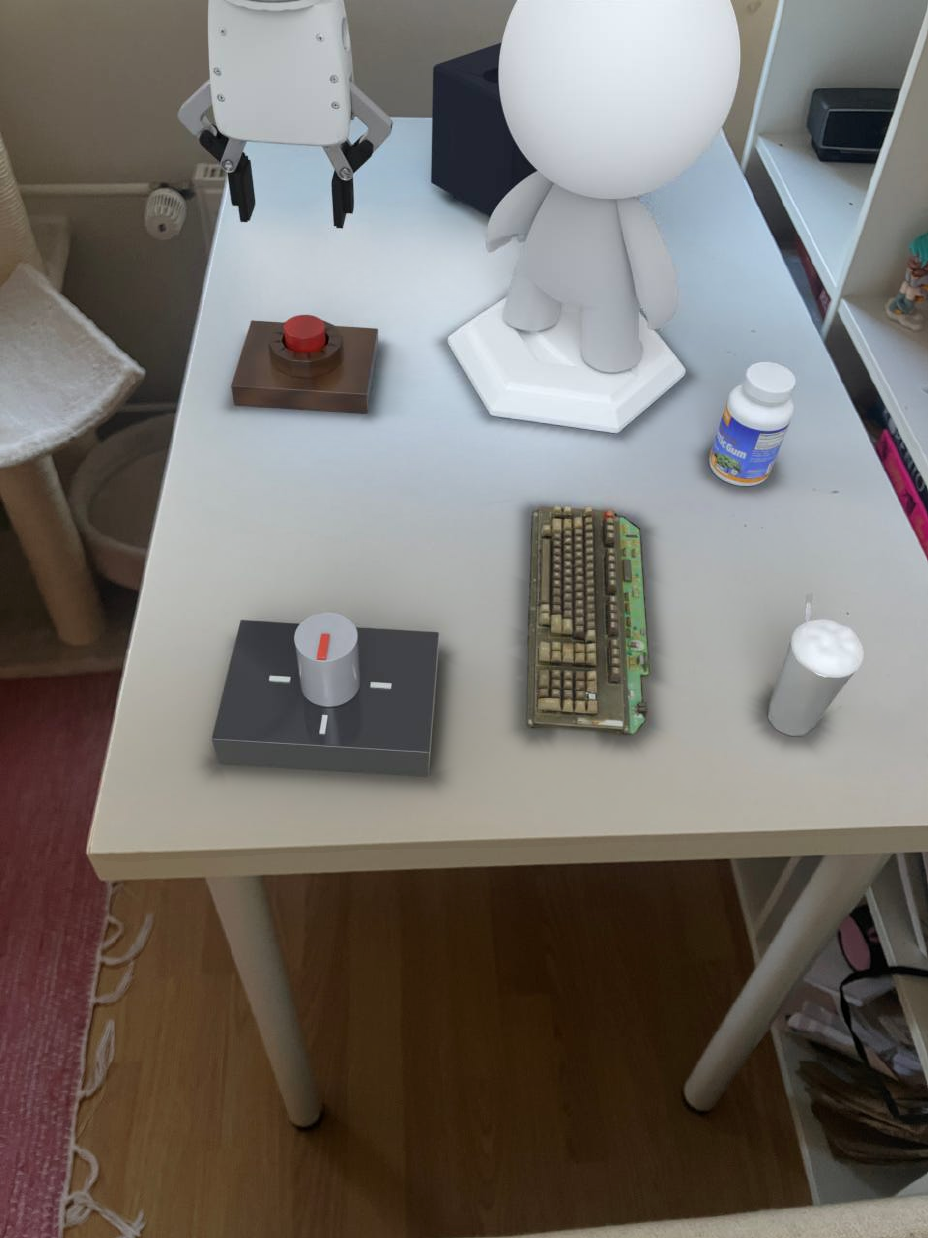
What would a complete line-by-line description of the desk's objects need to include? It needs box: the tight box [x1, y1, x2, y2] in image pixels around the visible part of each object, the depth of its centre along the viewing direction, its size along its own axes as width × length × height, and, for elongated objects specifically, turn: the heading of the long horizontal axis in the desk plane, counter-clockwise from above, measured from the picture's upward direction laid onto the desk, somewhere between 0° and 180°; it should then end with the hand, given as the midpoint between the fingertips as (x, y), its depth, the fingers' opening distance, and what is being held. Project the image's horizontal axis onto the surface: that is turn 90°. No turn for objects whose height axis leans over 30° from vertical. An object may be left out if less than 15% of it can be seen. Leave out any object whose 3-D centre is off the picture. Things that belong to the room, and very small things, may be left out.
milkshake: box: [767, 593, 865, 737], centre depth 67 cm, size 4×5×10 cm
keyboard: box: [526, 504, 651, 735], centre depth 75 cm, size 22×9×2 cm, turn 176°
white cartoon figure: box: [447, 0, 741, 434], centre depth 83 cm, size 20×23×35 cm
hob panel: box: [211, 619, 440, 777], centre depth 68 cm, size 14×10×3 cm
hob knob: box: [294, 611, 360, 707], centre depth 65 cm, size 4×4×5 cm
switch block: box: [230, 319, 379, 414], centre depth 92 cm, size 12×10×4 cm
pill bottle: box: [708, 361, 797, 487], centre depth 84 cm, size 5×5×10 cm
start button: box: [284, 314, 326, 353], centre depth 90 cm, size 4×4×2 cm
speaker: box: [430, 41, 538, 218], centre depth 112 cm, size 22×13×15 cm, turn 133°
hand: (294, 215), depth 81 cm, fingers open, 6 cm apart
